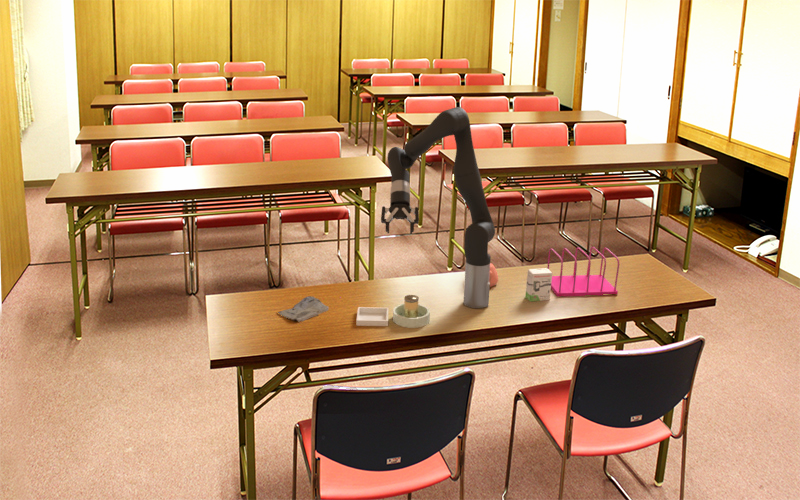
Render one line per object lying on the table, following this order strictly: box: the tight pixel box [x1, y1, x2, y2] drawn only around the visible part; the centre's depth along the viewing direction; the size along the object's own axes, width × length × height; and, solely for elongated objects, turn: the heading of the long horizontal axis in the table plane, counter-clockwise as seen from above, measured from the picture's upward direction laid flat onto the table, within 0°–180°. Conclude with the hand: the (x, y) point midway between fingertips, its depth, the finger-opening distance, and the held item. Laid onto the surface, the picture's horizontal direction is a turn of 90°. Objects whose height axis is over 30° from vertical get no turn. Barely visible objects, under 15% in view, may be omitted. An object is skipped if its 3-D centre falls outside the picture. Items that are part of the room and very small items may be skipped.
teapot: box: [489, 262, 499, 288], centre depth 293 cm, size 12×18×10 cm
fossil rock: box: [277, 296, 330, 323], centre depth 266 cm, size 18×15×2 cm
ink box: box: [524, 267, 553, 302], centre depth 278 cm, size 9×5×12 cm, turn 102°
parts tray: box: [355, 306, 389, 327], centre depth 259 cm, size 11×11×2 cm
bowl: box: [392, 303, 431, 329], centre depth 258 cm, size 13×13×4 cm
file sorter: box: [546, 246, 620, 298], centre depth 289 cm, size 17×25×16 cm
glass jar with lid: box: [403, 294, 419, 318], centre depth 257 cm, size 5×5×8 cm
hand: (399, 232), depth 266 cm, fingers open, 8 cm apart
